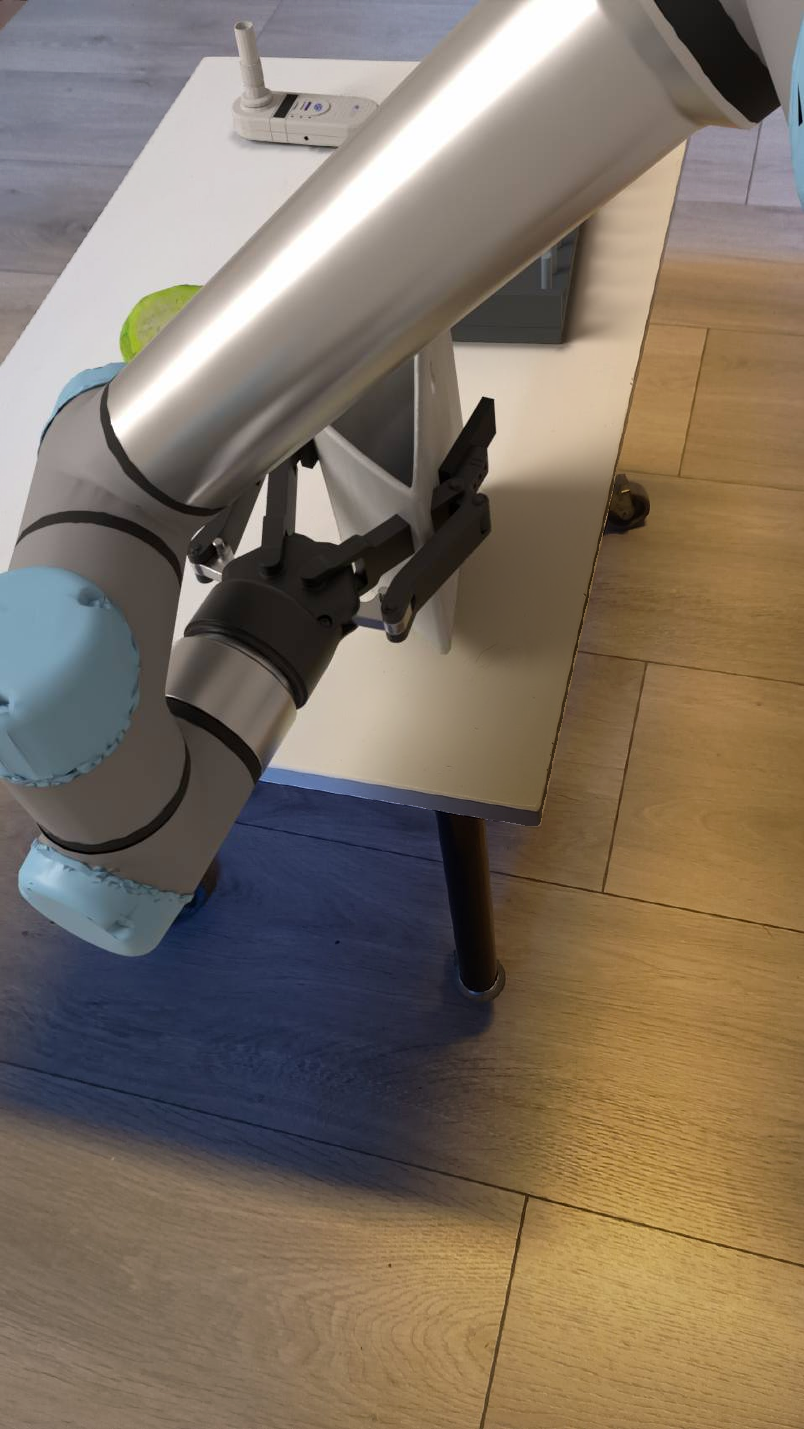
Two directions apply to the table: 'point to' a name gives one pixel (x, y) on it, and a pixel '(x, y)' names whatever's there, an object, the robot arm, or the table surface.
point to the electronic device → (290, 106)
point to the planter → (398, 465)
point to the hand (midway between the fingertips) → (418, 398)
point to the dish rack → (526, 302)
